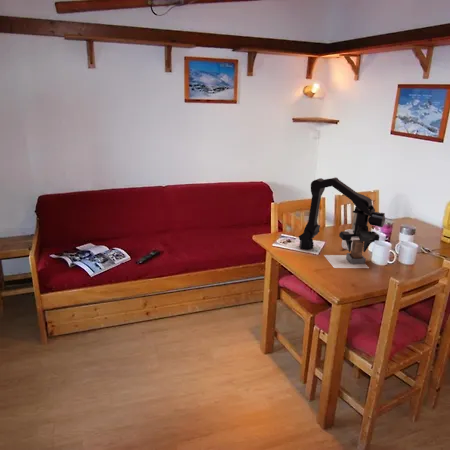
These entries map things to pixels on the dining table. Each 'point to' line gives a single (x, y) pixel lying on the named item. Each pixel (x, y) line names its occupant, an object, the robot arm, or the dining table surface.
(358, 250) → the post
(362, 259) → the block
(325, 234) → the dining table surface
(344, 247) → the mug
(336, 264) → the board
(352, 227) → the travel mug
